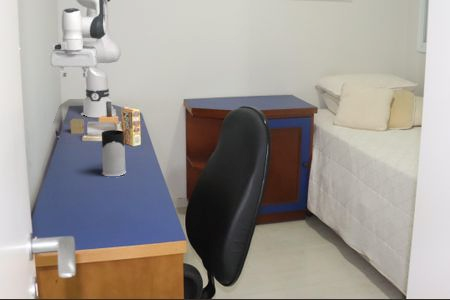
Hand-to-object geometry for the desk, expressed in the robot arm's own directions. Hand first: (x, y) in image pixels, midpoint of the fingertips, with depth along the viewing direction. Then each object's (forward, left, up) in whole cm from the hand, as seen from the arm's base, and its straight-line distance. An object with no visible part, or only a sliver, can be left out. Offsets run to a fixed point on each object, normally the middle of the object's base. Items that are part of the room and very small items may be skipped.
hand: (74, 76), depth 243 cm
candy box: (+20, +28, -26) cm, 43 cm away
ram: (-3, +14, -24) cm, 28 cm away
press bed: (+4, +14, -26) cm, 30 cm away
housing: (0, 0, -26) cm, 26 cm away
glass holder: (+60, +28, -26) cm, 71 cm away
